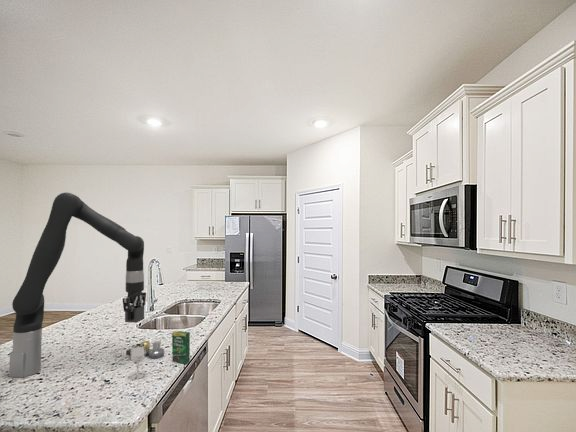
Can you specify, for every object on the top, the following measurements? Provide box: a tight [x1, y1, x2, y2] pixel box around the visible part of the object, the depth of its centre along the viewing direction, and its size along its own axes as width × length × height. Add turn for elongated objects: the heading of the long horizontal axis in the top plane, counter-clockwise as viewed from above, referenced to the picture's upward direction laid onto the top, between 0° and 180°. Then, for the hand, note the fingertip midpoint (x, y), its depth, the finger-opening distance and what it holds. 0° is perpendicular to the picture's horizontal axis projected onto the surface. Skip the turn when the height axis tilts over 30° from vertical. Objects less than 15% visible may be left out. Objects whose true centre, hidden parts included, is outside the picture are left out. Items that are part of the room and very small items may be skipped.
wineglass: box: [129, 343, 146, 380], centre depth 131 cm, size 6×6×12 cm
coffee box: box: [171, 330, 191, 365], centre depth 145 cm, size 8×3×13 cm, turn 66°
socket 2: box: [140, 340, 151, 350], centre depth 158 cm, size 4×4×4 cm
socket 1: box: [124, 305, 145, 324], centre depth 148 cm, size 6×6×6 cm
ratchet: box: [125, 340, 165, 360], centre depth 152 cm, size 6×18×6 cm, turn 81°
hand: (134, 318), depth 148 cm, fingers closed on socket 1, 5 cm apart
